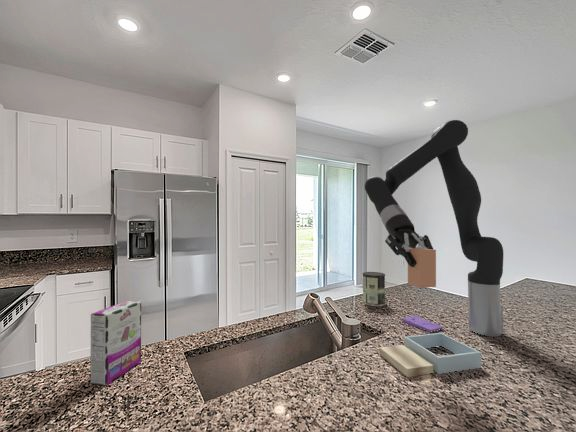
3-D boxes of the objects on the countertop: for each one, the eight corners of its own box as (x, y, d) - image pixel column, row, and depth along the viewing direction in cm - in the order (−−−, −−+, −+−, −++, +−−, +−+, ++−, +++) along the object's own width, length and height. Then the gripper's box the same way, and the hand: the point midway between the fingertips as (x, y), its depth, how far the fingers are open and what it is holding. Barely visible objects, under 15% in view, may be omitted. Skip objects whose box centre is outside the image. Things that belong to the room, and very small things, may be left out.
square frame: (441, 345, 84) (441, 332, 84) (481, 367, 71) (480, 352, 71) (404, 350, 81) (404, 336, 81) (438, 374, 68) (438, 357, 68)
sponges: (414, 320, 108) (414, 315, 108) (444, 331, 96) (444, 326, 96) (401, 322, 105) (401, 317, 105) (430, 334, 93) (430, 329, 93)
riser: (402, 351, 80) (402, 344, 80) (433, 373, 68) (433, 365, 68) (379, 354, 78) (379, 347, 78) (407, 377, 66) (407, 368, 66)
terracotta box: (422, 282, 78) (422, 248, 79) (435, 286, 73) (435, 249, 74) (407, 283, 77) (407, 248, 77) (420, 287, 72) (420, 250, 73)
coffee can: (381, 300, 134) (380, 271, 135) (388, 306, 124) (388, 275, 124) (360, 300, 134) (360, 271, 135) (365, 306, 124) (365, 275, 125)
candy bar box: (125, 360, 74) (127, 300, 74) (141, 362, 73) (142, 301, 73) (87, 384, 63) (89, 312, 64) (105, 386, 62) (107, 314, 63)
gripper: (380, 212, 83) (406, 257, 71) (421, 213, 86) (452, 256, 74) (371, 229, 88) (394, 273, 76) (410, 230, 91) (437, 272, 79)
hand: (422, 264), depth 75 cm, fingers closed on terracotta box, 5 cm apart
